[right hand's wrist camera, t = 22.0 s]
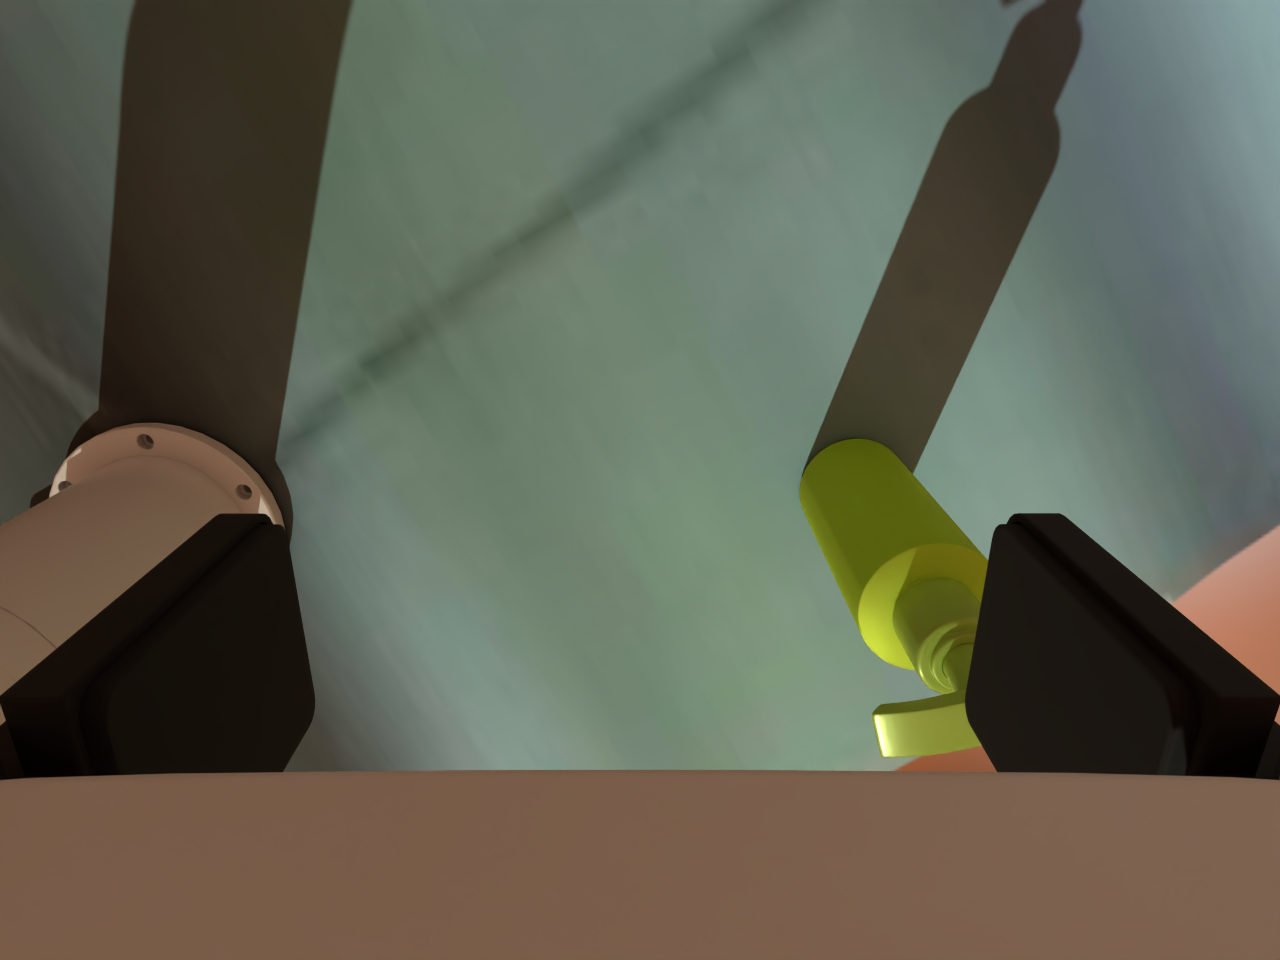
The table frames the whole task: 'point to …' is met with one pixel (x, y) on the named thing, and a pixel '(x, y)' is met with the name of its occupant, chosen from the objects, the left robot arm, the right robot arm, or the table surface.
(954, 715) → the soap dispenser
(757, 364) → the table surface
